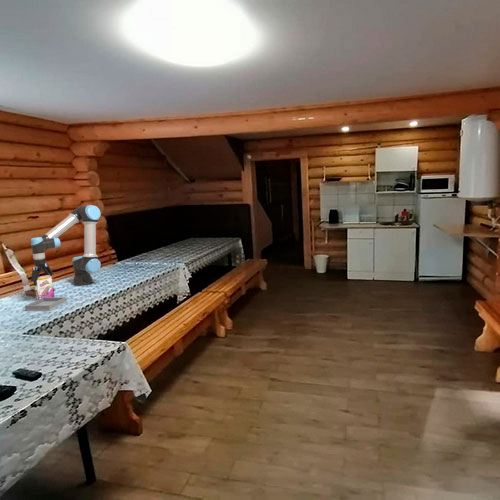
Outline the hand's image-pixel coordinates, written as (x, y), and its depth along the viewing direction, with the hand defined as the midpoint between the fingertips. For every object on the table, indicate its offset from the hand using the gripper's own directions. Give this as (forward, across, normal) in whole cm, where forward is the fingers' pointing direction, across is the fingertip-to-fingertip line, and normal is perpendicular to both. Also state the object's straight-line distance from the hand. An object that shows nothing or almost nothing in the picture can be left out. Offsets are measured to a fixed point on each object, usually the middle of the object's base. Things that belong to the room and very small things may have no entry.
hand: (43, 287), depth 280 cm
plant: (+9, -16, -18) cm, 26 cm away
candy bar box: (+9, 0, 0) cm, 9 cm away
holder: (+9, +18, +14) cm, 24 cm away
